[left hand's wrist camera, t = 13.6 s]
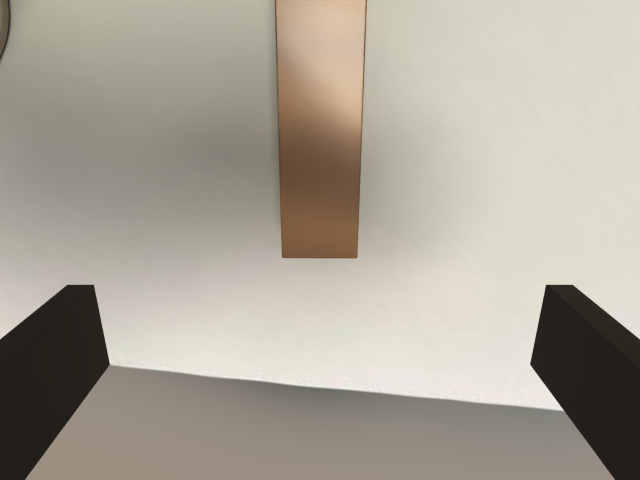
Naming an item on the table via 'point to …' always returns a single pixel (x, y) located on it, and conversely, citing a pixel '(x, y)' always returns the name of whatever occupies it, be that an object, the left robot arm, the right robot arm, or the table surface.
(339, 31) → the post
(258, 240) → the table surface
